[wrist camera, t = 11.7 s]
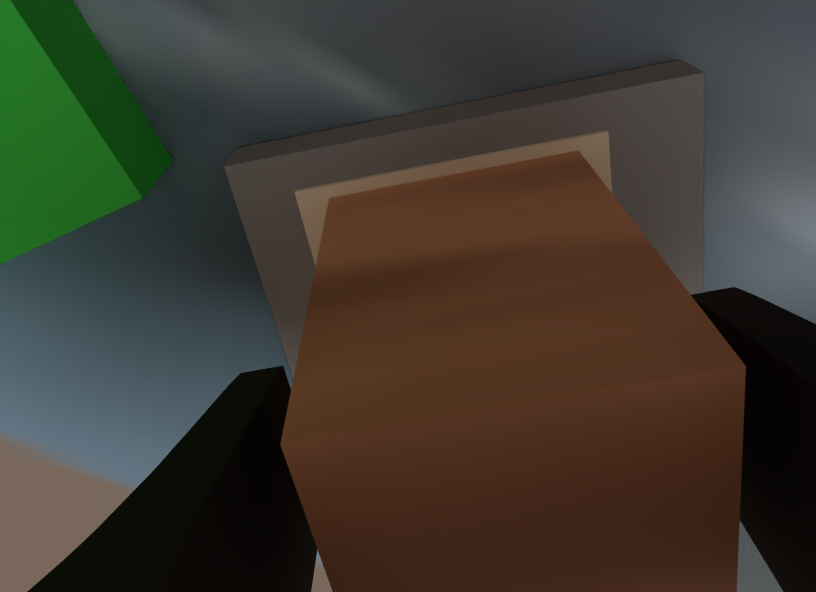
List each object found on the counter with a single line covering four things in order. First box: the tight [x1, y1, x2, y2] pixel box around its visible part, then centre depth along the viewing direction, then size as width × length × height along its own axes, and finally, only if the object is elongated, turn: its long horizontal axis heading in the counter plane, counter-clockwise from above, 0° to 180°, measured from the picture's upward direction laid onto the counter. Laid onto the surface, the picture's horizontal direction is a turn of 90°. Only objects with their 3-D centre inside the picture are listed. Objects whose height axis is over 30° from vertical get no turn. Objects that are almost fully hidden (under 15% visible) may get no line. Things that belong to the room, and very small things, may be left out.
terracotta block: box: [280, 150, 746, 592], centre depth 10 cm, size 4×4×6 cm
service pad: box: [224, 60, 704, 378], centre depth 13 cm, size 8×6×1 cm
